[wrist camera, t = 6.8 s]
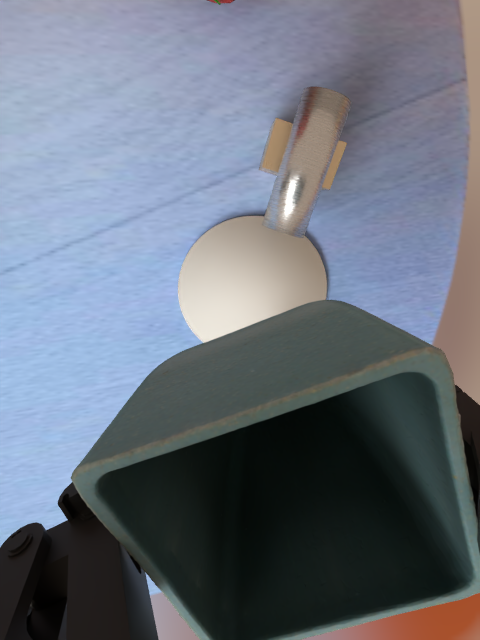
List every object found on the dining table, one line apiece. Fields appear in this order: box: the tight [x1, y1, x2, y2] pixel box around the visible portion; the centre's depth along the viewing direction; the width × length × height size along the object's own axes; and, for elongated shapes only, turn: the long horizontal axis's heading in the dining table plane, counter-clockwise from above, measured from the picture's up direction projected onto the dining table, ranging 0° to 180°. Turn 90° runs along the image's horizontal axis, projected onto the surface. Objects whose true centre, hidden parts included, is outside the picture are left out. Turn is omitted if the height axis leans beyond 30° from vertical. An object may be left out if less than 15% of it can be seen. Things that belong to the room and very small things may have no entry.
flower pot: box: [71, 300, 480, 640], centre depth 12 cm, size 9×9×9 cm
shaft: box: [259, 87, 352, 238], centre depth 22 cm, size 8×5×6 cm, turn 163°
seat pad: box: [178, 216, 327, 343], centre depth 28 cm, size 13×13×1 cm
